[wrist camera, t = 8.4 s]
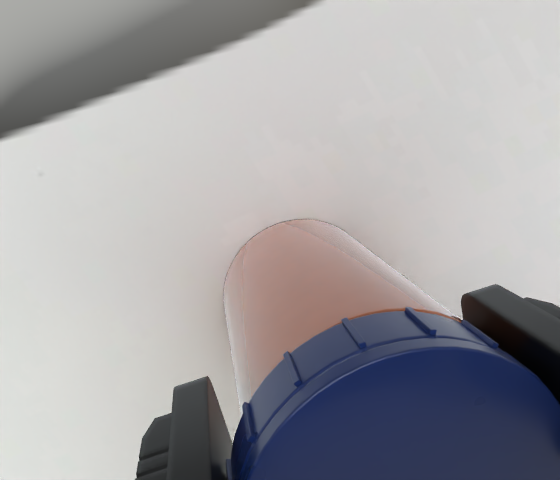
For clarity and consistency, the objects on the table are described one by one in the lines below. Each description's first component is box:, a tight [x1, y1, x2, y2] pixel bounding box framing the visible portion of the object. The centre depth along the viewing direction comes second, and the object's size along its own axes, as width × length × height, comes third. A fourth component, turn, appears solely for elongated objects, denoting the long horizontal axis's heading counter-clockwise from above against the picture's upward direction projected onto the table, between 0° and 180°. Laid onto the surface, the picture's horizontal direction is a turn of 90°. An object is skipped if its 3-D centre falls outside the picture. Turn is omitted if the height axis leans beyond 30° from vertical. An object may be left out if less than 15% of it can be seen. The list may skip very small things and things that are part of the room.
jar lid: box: [226, 307, 560, 480], centre depth 8 cm, size 6×6×1 cm
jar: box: [223, 219, 462, 417], centre depth 12 cm, size 5×5×9 cm
